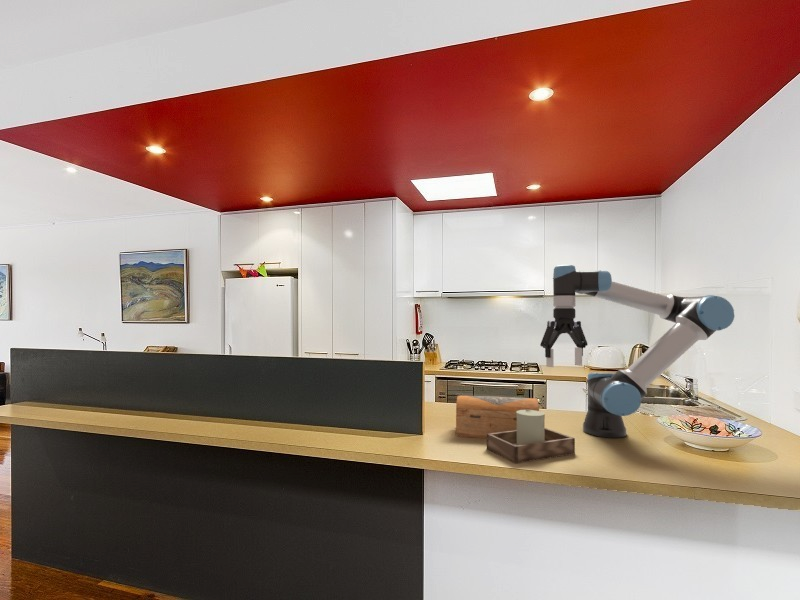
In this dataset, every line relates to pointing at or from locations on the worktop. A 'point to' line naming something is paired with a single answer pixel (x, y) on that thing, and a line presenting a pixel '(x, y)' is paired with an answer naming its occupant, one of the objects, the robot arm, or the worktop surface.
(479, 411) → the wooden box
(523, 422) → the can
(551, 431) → the crate
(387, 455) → the worktop surface
